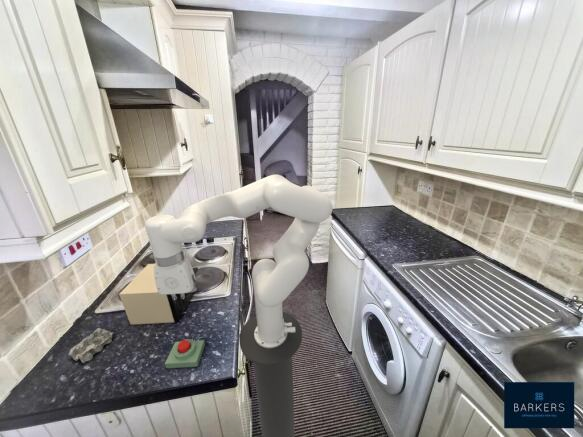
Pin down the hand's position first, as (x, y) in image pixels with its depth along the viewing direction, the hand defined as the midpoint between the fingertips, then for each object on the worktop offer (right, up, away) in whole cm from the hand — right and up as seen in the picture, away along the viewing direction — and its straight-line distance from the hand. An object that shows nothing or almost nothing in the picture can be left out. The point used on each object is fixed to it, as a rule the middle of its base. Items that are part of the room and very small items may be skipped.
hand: (183, 306), depth 73 cm
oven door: (-9, -9, +27) cm, 30 cm away
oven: (-21, -10, +27) cm, 35 cm away
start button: (-1, -15, +3) cm, 15 cm away
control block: (-1, -18, +4) cm, 19 cm away
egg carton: (-35, -18, +8) cm, 40 cm away
